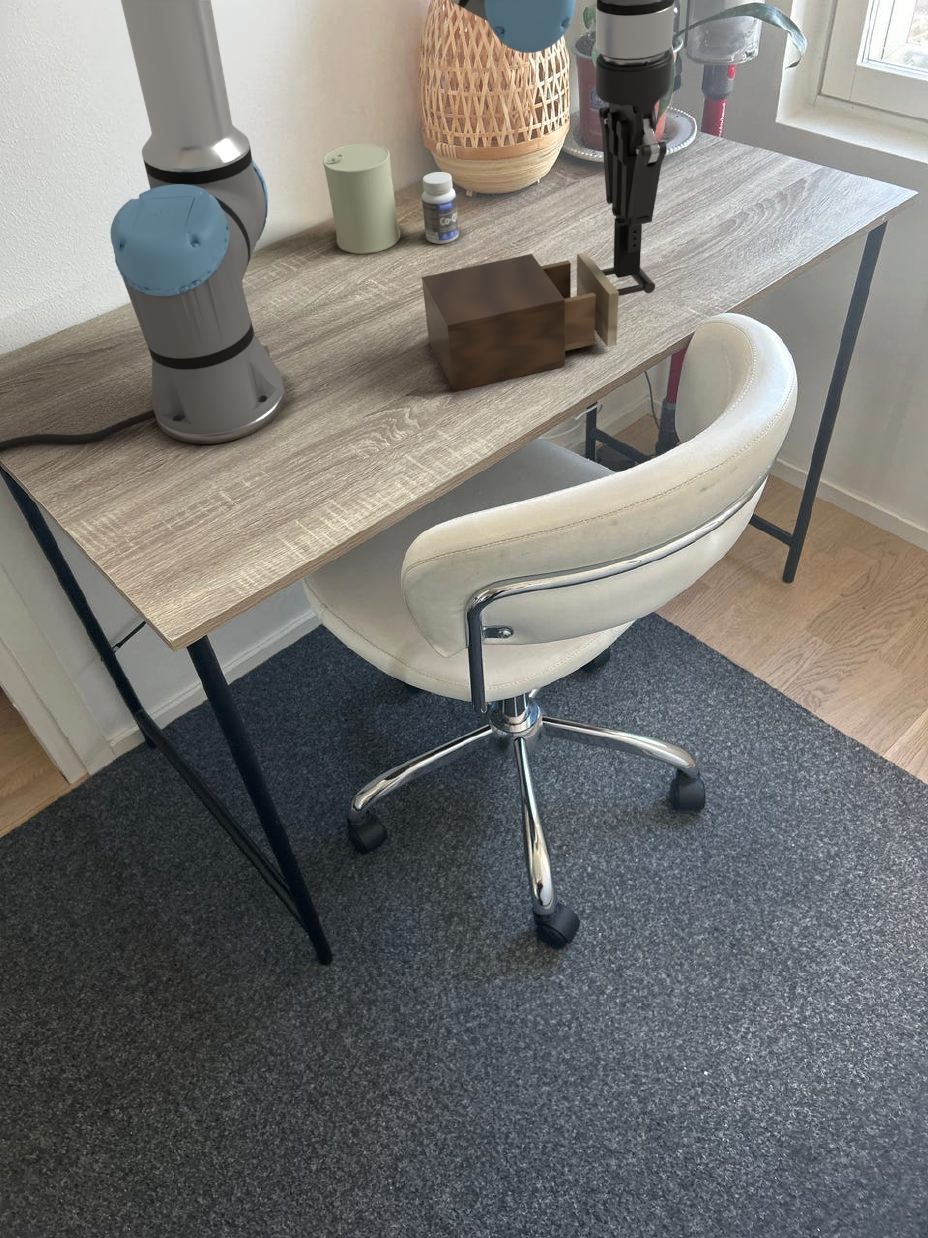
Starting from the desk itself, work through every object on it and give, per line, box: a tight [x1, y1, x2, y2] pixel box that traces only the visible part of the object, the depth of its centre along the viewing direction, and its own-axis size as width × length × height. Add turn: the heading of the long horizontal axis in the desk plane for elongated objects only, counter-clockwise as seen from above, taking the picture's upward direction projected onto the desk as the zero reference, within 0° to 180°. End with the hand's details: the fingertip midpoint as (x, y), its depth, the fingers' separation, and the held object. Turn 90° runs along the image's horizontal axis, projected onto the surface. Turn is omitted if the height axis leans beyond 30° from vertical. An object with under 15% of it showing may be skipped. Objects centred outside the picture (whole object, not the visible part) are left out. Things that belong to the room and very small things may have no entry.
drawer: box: [540, 251, 656, 352], centre depth 116 cm, size 18×10×7 cm, turn 106°
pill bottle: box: [421, 171, 460, 245], centre depth 136 cm, size 5×5×8 cm
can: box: [322, 142, 401, 255], centre depth 136 cm, size 9×9×12 cm
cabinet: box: [421, 253, 566, 393], centre depth 115 cm, size 14×12×9 cm
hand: (626, 272), depth 115 cm, fingers closed
